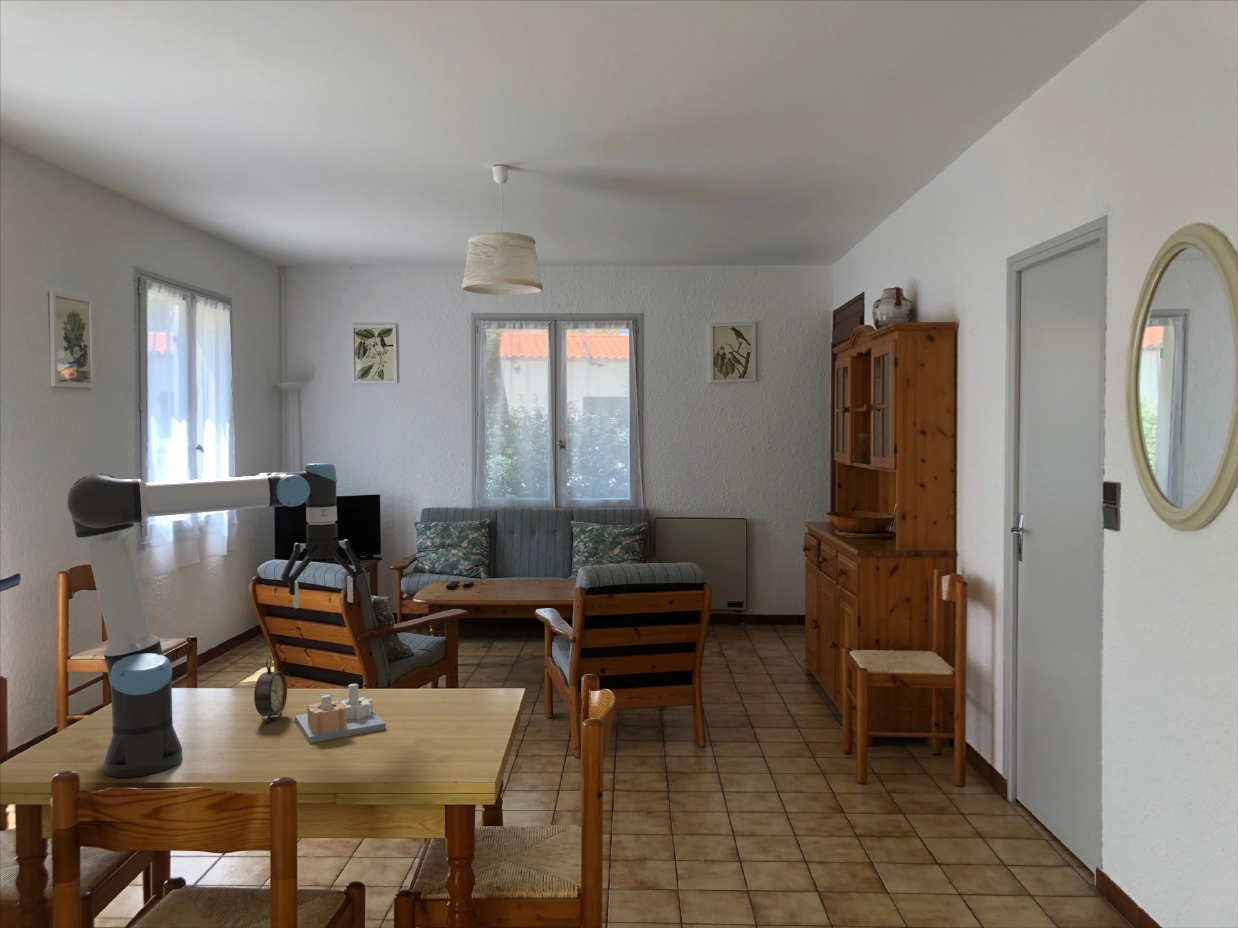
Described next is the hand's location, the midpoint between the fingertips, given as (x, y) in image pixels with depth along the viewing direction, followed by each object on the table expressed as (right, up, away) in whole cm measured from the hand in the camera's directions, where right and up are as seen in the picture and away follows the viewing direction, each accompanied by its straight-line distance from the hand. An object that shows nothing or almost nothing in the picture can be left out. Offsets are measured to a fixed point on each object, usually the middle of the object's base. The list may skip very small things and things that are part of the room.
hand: (323, 604), depth 222 cm
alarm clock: (-13, -29, -2) cm, 32 cm away
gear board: (+7, -29, -8) cm, 31 cm away
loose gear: (+5, -28, -13) cm, 31 cm away
